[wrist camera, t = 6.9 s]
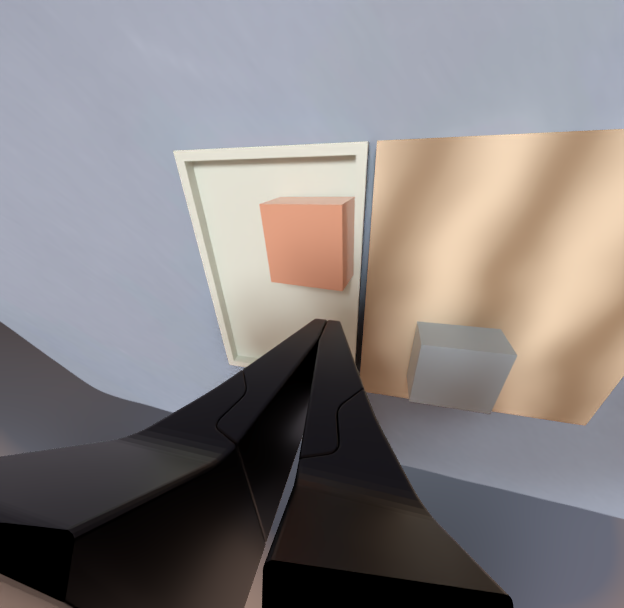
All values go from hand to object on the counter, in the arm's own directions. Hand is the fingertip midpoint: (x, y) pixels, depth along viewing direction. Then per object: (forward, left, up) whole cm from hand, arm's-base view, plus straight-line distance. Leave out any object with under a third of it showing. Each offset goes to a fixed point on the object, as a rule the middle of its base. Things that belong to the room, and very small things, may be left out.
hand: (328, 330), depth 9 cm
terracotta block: (+3, 0, -10) cm, 10 cm away
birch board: (-9, +4, -11) cm, 15 cm away
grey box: (-7, +8, -9) cm, 14 cm away
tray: (+6, +4, -11) cm, 13 cm away
